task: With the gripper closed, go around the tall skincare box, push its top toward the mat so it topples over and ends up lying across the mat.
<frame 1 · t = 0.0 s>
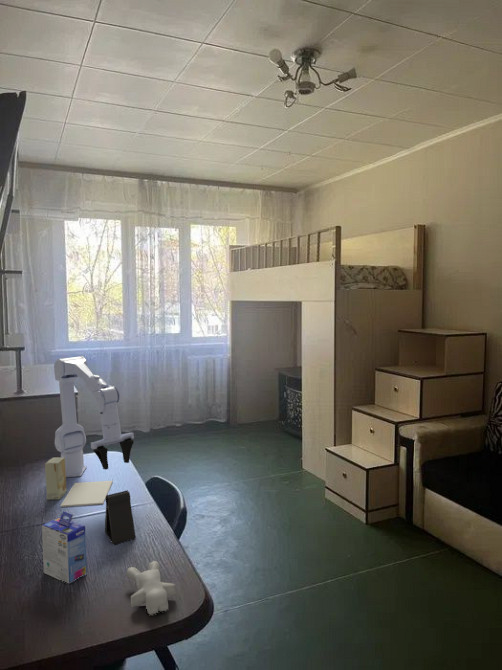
hand: (116, 465, 159), 11 cm above the table, tool pointing down, fingers open, 7 cm apart
skincare box: (57, 496, 162), on the table
ink cartridge box: (66, 574, 117), on the table
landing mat: (88, 493, 163), on the table
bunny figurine: (150, 598, 108), on the table
phone stand: (119, 535, 135), on the table
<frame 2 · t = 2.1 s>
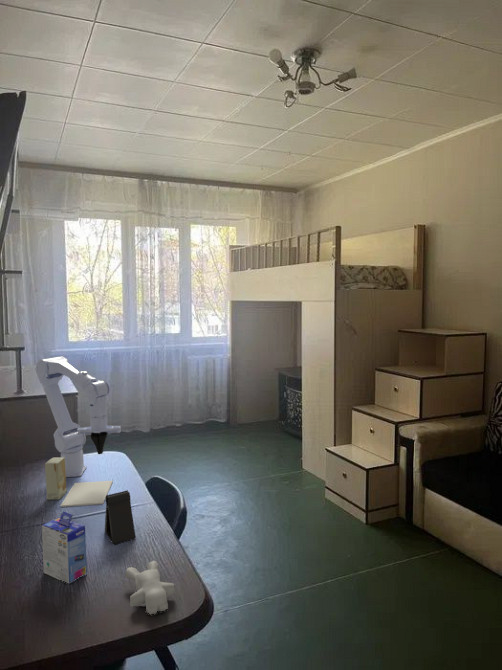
hand: (100, 453, 173), 10 cm above the table, tool pointing down, fingers closed
nothing on the table moved.
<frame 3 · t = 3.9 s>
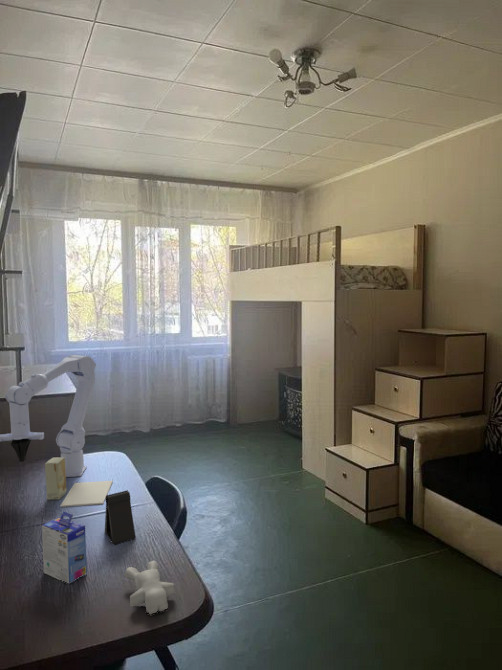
hand: (22, 460, 166), 10 cm above the table, tool pointing down, fingers closed
nothing on the table moved.
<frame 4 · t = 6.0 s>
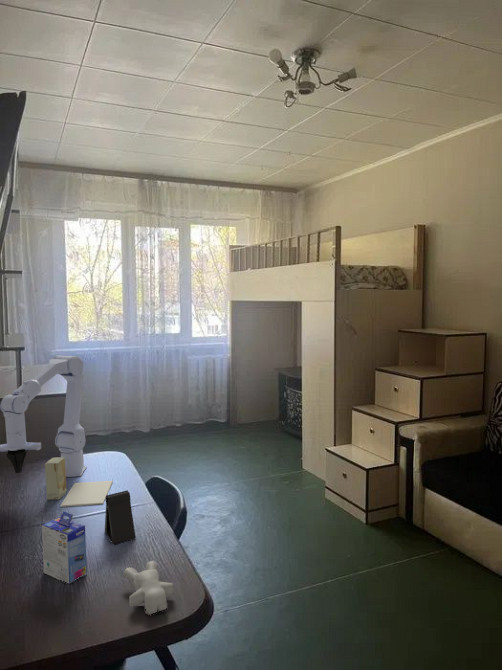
hand: (18, 472, 160), 9 cm above the table, tool pointing down, fingers closed
nothing on the table moved.
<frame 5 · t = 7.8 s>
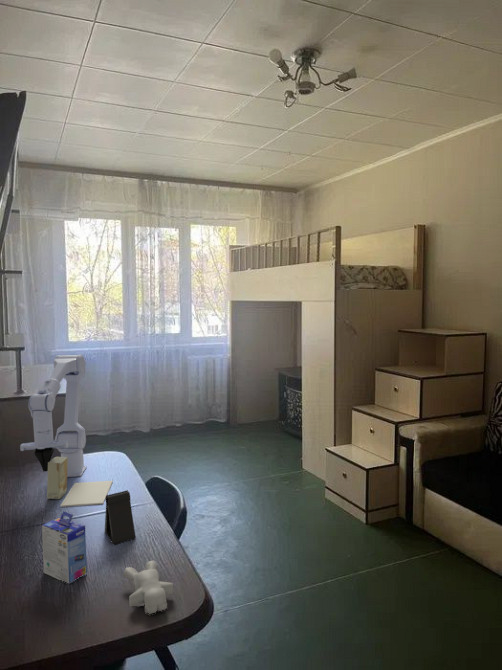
hand: (46, 470, 161), 9 cm above the table, tool pointing down, fingers closed
skincare box: (57, 495, 162), on the table, touching gripper
everything else where it was.
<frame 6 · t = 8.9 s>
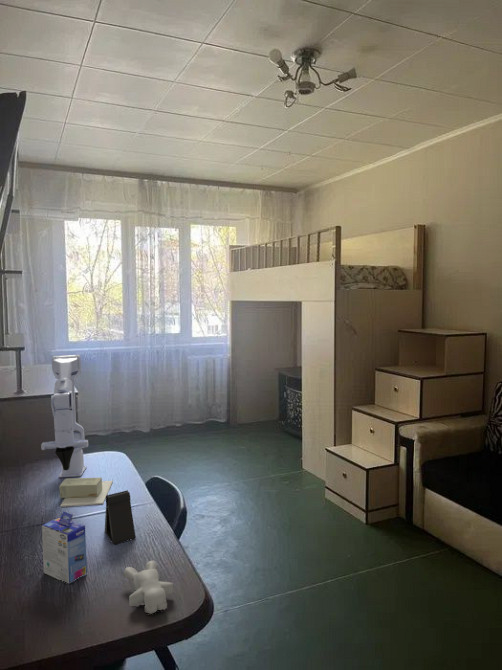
hand: (66, 469, 162), 9 cm above the table, tool pointing down, fingers closed
skincare box: (62, 488, 162), point 3 cm above the table, touching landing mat
everything else where it was.
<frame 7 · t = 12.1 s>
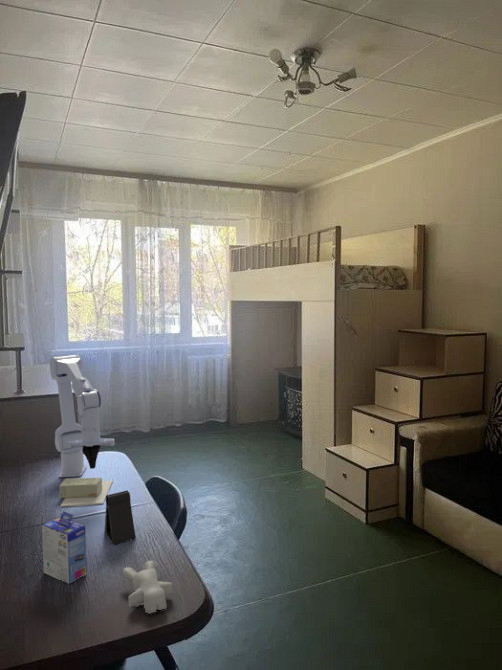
hand: (92, 467, 163), 9 cm above the table, tool pointing down, fingers closed
nothing on the table moved.
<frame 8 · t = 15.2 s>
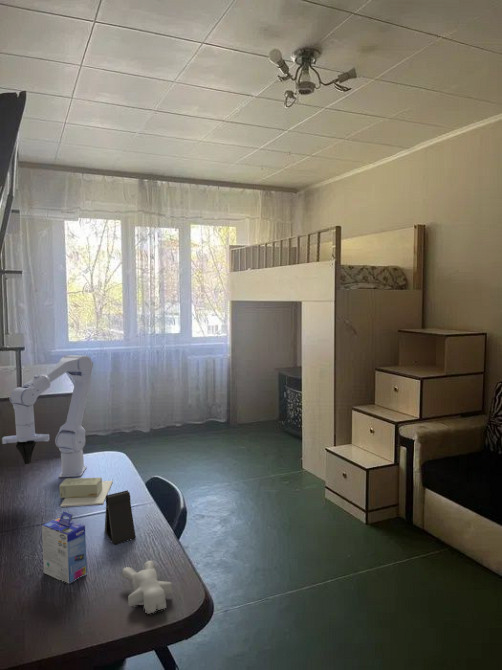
hand: (27, 462, 164), 10 cm above the table, tool pointing down, fingers closed
nothing on the table moved.
at the end: skincare box tilted 90°; skincare box touching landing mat; skincare box inside the target area (3.4 cm from its centre), point 2.7 cm above the table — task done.
